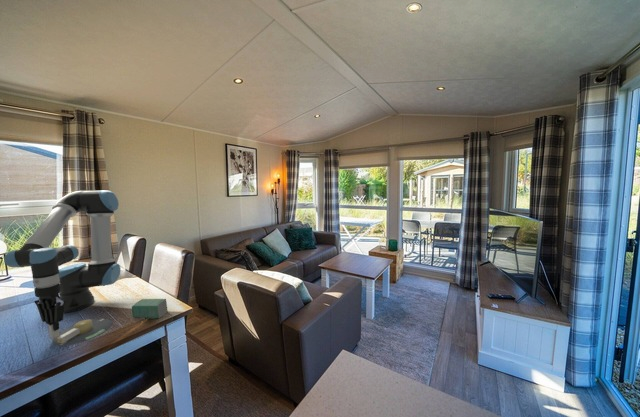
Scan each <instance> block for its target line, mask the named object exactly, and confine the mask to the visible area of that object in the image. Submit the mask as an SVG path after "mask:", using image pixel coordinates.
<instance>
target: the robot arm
mask: <svg viewBox="0 0 640 417" xmlns="http://www.w3.org/2000/svg"><path fill="white" fill-rule="evenodd" d="M118 207H119V200H118V196H117V195H116V194H115V192H113V191H111V190H102V189H100V190H77V191H73V192H70V193H68V194H66V195H65V196H63V197H61V198H59V199H58V200H57V202H55V203H54V205H53V206H52V211H51V212H50V213H49V214H48V215H47V217H46V218H45V219H44V220H43V221H42V223H41V224H40V225H39V226H38V227H37V229H35V231H34V232H33V233H32V234H31V235H30V236H29V238H28V239H27V240H26V242H25V243H24V244H23V245H22V246H21V247H20V248H19V249H13V250H10V251H8V252H7V253H6V254H5V256H4V258H3V259H4V261H3V262H4V263H5V265H6V266H8V267H9V268H25V267H26V268H27V267H30V269H31V274H32V275H31V276H32V284H33V287H34V295H35V297H36V298H38V299H37V300H34V304H35V306H36V307H37V308H36V309H37V310H38V313H39V316H40V318H41V322H42V323H45V324H46V325H47V328H48V334H49V335H48V336H49V339H50V340H53V339H54V338H56V337H58V336H59V335H60V332H61V331H60V322H62V321H63V320H64V315H65V314H64V313H71V312H76V311H79V310H83V309H85V308H87V307H90V306H91V305H93V304H94V303H95V301H96V300H95V296H94V295H93V293H92V291H91V290H90V288H91V287H92V288H94V287H105V286H110V285H114V284H115V283H116V282H117V281H118V279H119V278H120V275H121V265H120V263H116V259H114V258H113V254H112V227H111V223H112V222H111V220H112V218H111V216H113V215H114V213H115V211H117V210H118ZM81 212H86V215H87V217H89V221H90V246H91V247H90V248H91V249H90V250H91V253H90V254H91V260H90V261H89V262H88V263H87V264H86V262H85V263H84V262H81V263H79V262H78V263H74V264H71V265H67V266H64V267H61V268H60V269H59V267H60V266H62V265H65V264H67V263H70V262H72V261H73V260H75V259H76V258H77V257H78V256H79V252H80V251H79V249H78V248H77V246H75V245H71V244H67V245H62V246H59V247H50V246H51V244H52V243H53V242H54V240H55V239H56V238H57V236H58V235H59V233H60V232H61V231H62V230H63V229H64V227H65V226H66V224H67V223H68V221H69V220H70V219H71V218H73V217H75V216H77V214H78V213H81Z"/></svg>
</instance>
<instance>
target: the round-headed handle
mask: <svg viewBox="0 0 640 417" xmlns="http://www.w3.org/2000/svg"><path fill="white" fill-rule="evenodd" d="M92 320H93V319H89V318H88V319H82V320H80V321H78V322H76V323H74V325H73V326H74V328H73V329H71V330H70V331H68V332H66V333H64V334H63V335H61V336H59V337H58V340H57V343H64V342H66V341H67V340H69V339H71V338H72V337H74V336H75V335H83V334H86V333H88V332H90V331H91V330H92V329H93V326H92Z"/></svg>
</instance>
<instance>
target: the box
mask: <svg viewBox="0 0 640 417" xmlns="http://www.w3.org/2000/svg"><path fill="white" fill-rule="evenodd" d="M167 303H168V302H167V298H143V299H139V301H137V302H136V303H134V304H133V305H132V306H131V312H132V317H133V318H139V317H140V318H144V320H146V319H147V320H151V319H152V320H155V318H158V319H161V318H162V317H163V316H164V315H165V314H167V313H168V304H167ZM161 316H162V317H161ZM160 317H161V318H160Z"/></svg>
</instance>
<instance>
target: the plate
mask: <svg viewBox="0 0 640 417" xmlns="http://www.w3.org/2000/svg"><path fill="white" fill-rule="evenodd" d="M91 320H92V326H93V329H92V330H91V331H90V332H88V333H86V334H83V335H75V336H74V337H72V338H71V339H69V340H67V341H66V342H64V343H57V340H58V337H59V336H61V335H63V334H64V333H66V332H68V331H70V330H71V329H73V328H74V325H72V326H70V327H68V328H66V329H64V330H62V331H60V335H59V336H58V337H56V338H54V339H51V340H52V341H51V343H52V344H53V345H54V346H56V347H57V346H58V347H64V346H72V345H77V344H80V343H84V342H88V341H89V340H92V339H94V338H96V337H98V336H100V335H102V334H103V333H106V332H107V331H108V330H109V329H110V328H111V326H113V321H112V320H111V319H109V318H96V319H91Z"/></svg>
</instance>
